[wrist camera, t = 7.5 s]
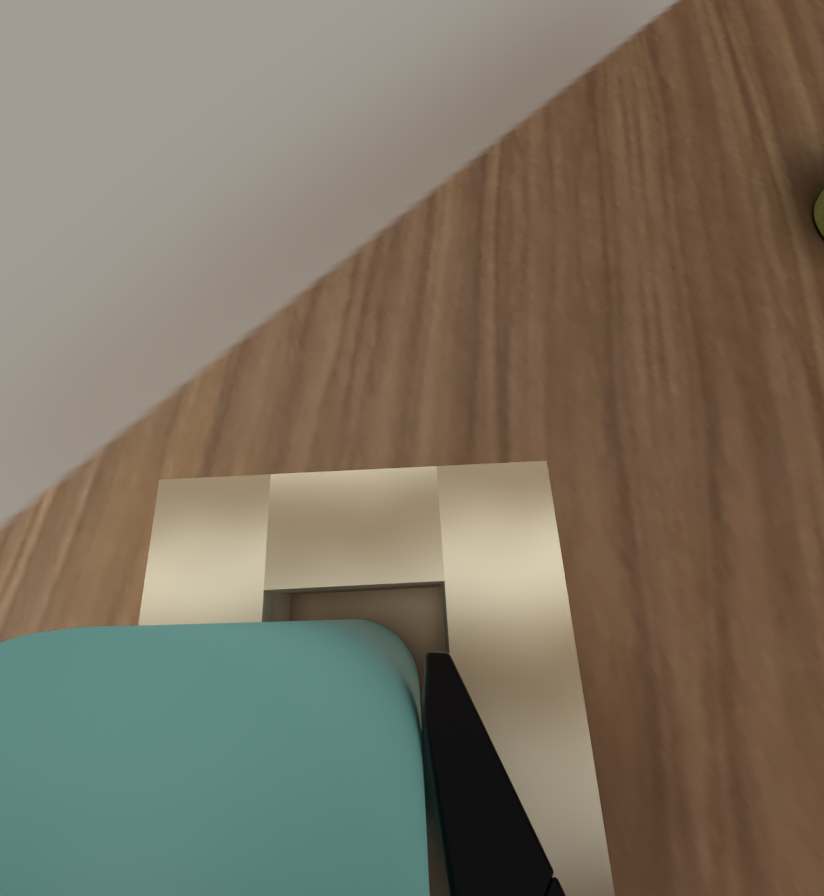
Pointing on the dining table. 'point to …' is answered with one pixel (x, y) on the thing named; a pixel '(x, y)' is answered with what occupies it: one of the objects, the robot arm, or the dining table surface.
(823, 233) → the plant pot
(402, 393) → the dining table surface
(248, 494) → the cream square wooden frame
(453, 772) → the robot arm
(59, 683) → the teal cylinder
